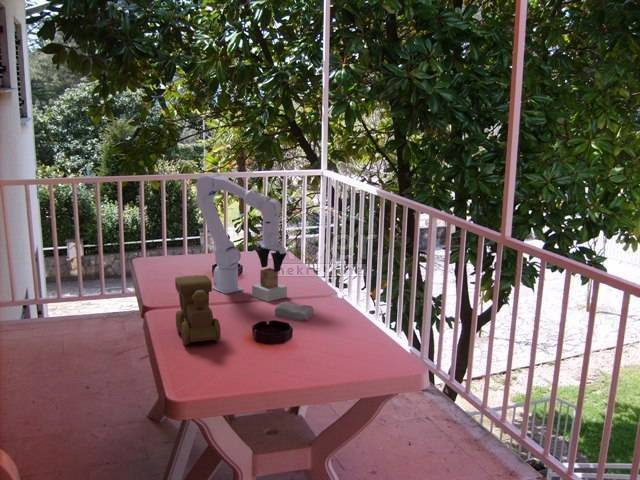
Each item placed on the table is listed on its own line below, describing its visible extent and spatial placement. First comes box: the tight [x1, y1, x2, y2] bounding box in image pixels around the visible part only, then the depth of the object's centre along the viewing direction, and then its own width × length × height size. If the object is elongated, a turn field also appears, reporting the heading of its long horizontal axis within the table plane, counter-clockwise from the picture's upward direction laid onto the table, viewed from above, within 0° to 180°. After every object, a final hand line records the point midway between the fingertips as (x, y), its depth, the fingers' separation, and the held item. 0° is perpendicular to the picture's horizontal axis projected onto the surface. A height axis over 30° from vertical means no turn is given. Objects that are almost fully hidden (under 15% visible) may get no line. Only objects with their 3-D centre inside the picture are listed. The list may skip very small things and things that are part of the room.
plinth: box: [251, 283, 288, 303], centre depth 242 cm, size 9×9×4 cm
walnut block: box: [259, 267, 279, 289], centre depth 241 cm, size 4×4×6 cm
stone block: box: [274, 301, 315, 322], centre depth 223 cm, size 12×5×10 cm
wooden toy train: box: [174, 274, 221, 346], centre depth 201 cm, size 20×11×17 cm, turn 21°
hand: (270, 269), depth 242 cm, fingers open, 7 cm apart
